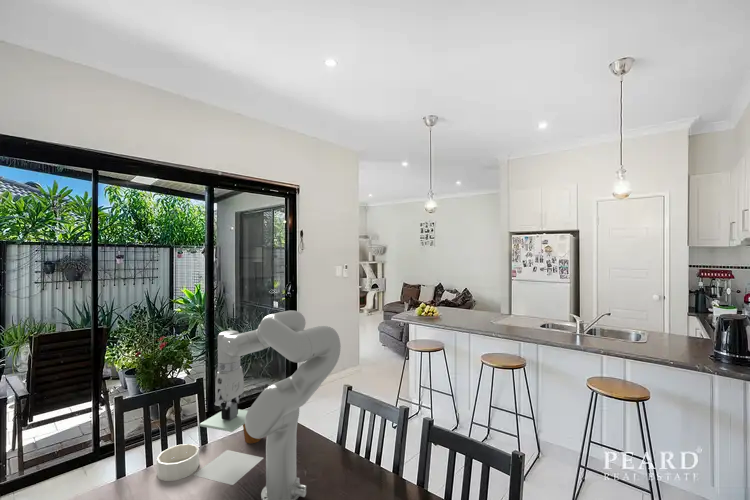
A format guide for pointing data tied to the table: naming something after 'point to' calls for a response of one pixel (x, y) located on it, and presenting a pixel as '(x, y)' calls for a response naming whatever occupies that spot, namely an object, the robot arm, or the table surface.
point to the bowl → (177, 462)
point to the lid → (230, 424)
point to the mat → (228, 467)
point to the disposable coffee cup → (247, 437)
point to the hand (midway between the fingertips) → (229, 416)
